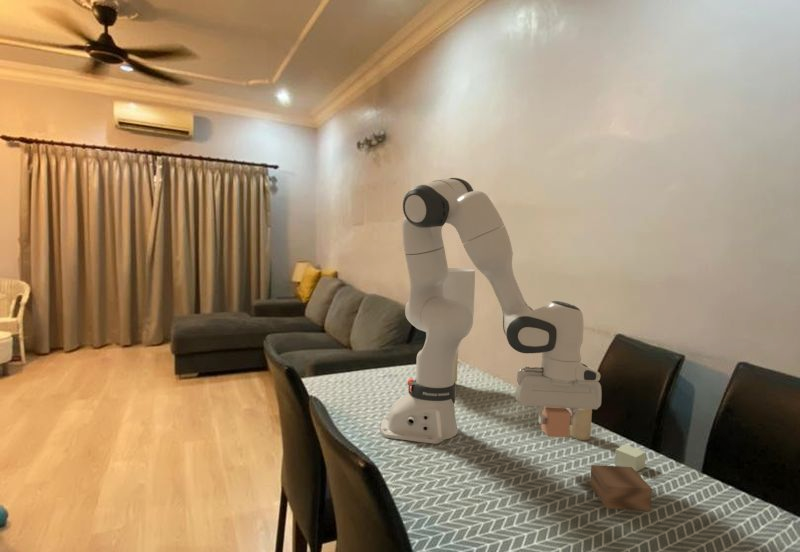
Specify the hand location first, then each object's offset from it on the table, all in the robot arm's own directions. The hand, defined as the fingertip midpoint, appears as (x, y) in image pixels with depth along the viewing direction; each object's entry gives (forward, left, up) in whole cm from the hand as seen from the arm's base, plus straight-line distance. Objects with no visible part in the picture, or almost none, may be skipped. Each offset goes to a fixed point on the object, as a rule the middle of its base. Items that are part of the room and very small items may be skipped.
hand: (555, 423), depth 109 cm
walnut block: (+11, -12, -11) cm, 20 cm away
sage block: (+20, +2, -11) cm, 23 cm away
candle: (+13, +19, -11) cm, 25 cm away
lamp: (-25, +60, -11) cm, 65 cm away
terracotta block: (0, 0, -2) cm, 2 cm away
